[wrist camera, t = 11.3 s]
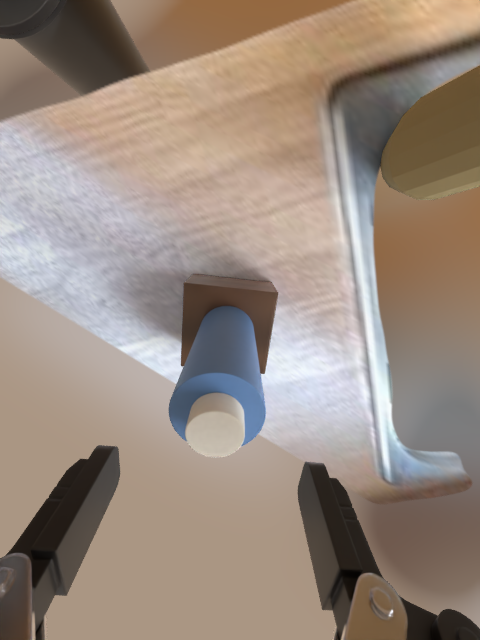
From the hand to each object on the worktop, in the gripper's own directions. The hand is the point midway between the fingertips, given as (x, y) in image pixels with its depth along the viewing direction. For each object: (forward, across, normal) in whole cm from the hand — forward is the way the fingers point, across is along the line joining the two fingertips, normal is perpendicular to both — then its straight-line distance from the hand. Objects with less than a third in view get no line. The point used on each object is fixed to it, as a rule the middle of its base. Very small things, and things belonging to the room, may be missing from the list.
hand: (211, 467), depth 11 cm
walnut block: (+20, 0, 0) cm, 20 cm away
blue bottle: (+15, 0, 0) cm, 15 cm away
